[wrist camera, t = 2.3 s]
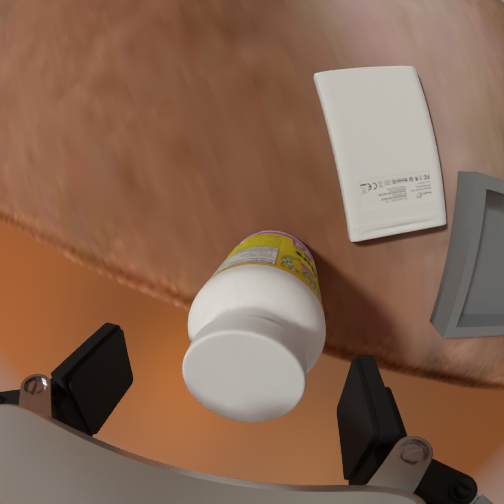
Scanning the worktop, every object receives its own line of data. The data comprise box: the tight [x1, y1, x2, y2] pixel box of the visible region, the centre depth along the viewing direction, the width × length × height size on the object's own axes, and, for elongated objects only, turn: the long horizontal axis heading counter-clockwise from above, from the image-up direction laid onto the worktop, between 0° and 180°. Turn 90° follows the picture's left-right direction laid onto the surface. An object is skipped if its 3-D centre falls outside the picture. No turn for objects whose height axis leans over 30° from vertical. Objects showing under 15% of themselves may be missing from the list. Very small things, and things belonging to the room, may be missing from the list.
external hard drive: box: [314, 66, 446, 242], centre depth 18 cm, size 2×8×12 cm
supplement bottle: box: [182, 231, 326, 422], centre depth 16 cm, size 7×7×13 cm
